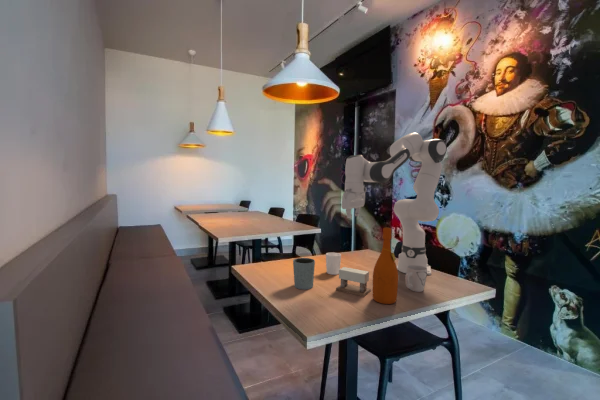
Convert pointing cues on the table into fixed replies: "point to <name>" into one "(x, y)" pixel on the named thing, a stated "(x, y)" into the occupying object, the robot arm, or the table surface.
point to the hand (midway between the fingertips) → (353, 217)
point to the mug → (416, 277)
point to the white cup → (333, 263)
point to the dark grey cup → (303, 273)
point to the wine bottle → (385, 273)
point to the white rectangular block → (354, 275)
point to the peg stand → (353, 288)
